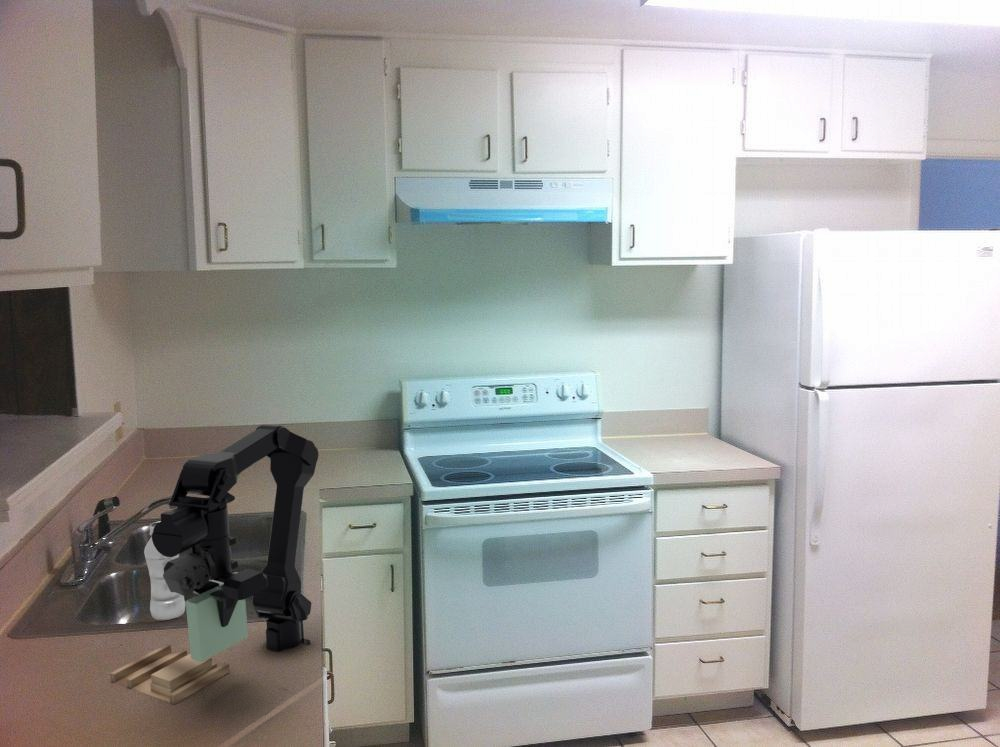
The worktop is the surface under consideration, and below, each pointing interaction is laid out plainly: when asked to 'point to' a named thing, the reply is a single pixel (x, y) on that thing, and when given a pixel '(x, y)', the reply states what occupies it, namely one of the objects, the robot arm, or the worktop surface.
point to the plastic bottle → (161, 585)
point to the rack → (142, 668)
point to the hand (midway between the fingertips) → (218, 624)
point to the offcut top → (179, 672)
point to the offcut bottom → (166, 691)
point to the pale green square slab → (213, 626)
